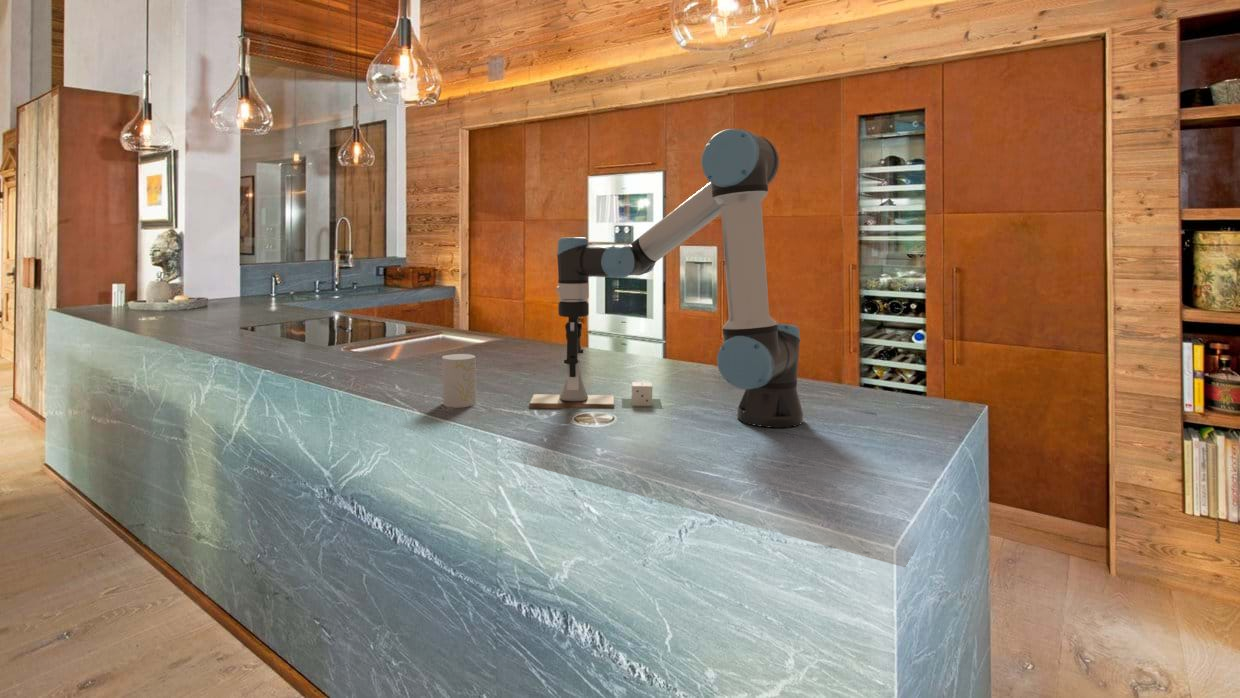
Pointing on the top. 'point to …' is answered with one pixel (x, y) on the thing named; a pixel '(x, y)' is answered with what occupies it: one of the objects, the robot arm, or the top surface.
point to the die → (641, 394)
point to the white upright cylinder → (459, 380)
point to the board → (557, 402)
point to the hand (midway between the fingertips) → (574, 384)
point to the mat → (628, 404)
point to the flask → (575, 394)
